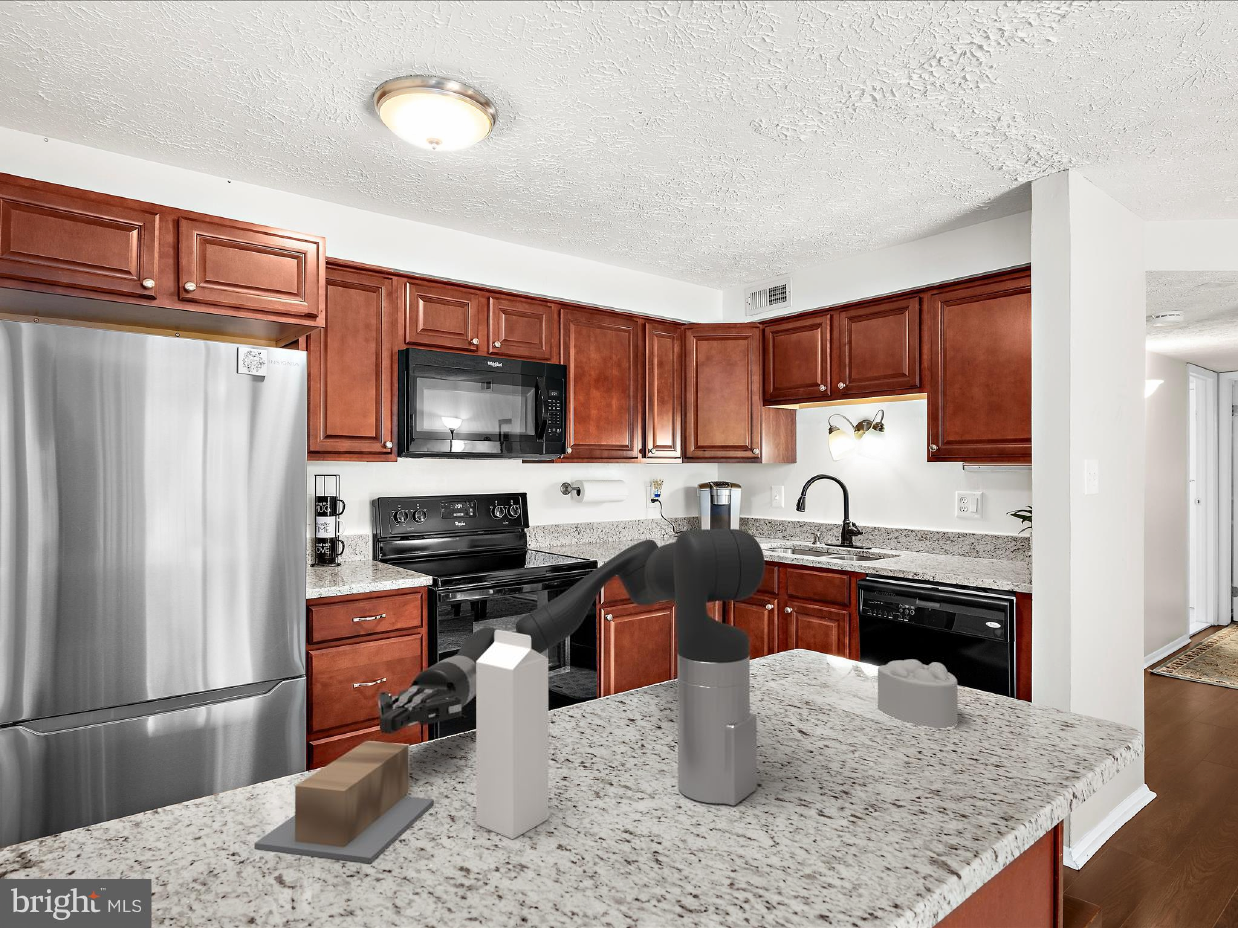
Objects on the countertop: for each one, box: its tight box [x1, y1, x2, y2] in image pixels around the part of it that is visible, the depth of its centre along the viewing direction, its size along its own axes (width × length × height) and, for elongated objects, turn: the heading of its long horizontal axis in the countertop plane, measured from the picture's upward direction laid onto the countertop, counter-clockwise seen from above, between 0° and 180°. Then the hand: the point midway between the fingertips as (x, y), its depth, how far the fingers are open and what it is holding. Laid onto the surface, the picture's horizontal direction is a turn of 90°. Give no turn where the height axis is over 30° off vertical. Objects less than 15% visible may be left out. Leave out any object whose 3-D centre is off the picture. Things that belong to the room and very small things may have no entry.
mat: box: [253, 795, 435, 864], centre depth 84 cm, size 14×14×1 cm
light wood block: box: [294, 740, 410, 847], centre depth 86 cm, size 6×6×14 cm
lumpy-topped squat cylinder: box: [877, 658, 959, 728], centre depth 121 cm, size 10×13×9 cm
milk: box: [475, 629, 549, 840], centre depth 85 cm, size 6×6×22 cm
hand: (385, 725), depth 92 cm, fingers closed
